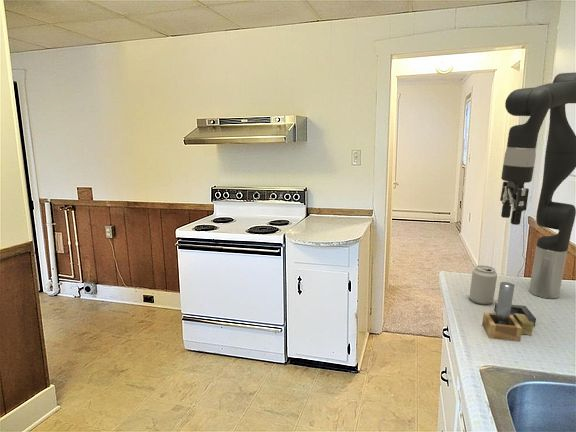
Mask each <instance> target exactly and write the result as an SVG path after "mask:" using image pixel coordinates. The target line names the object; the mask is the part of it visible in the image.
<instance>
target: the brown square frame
mask: <svg viewBox="0 0 576 432" xmlns="http://www.w3.org/2000/svg"><path fill="white" fill-rule="evenodd" d="M495 314H496V312H485V311H484V312H483V315H482V321H481V325H482V327H483V329H484V330H485V331H484V332H486V334H487V336H488V338H489V339H494V340H495V339H496V340H505V341H514V342H521V338H522V334H521V333H522V327H521V326H520V325H519V323H518V322H517V321H516V319H515V318H514V316H513V315H510V317H509V323H508V325H503V324H495V323H494V321H495Z"/></svg>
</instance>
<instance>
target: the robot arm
mask: <svg viewBox="0 0 576 432" xmlns="http://www.w3.org/2000/svg"><path fill="white" fill-rule="evenodd" d="M504 104H505V105H504V106H505V110H506V112H507V113H508V114H509V115H511V116H514V117H529V118H528V120H527V121H526V122H525V123H523V124H522V123H521V124H517V125H512V126H511V127H510V128H509V132H508V136H507V142H506V143H507V144H506V149H505V153H504V157H503V165H502V171H501V172H502V173H501V177H500V178H501V181H503V182H502V188H501V191H500V192H501V193H500V198H499V199H500V200H499V201H500V202H501V204H502V206H501V212H500V213H501V217H502V218H503V219H504V218H507V219H509V218H510V224H511V225H515V226H518V225H519V226H520V224H521V218H522V213H523V212H524V211H525V212H526V211H527V207H528V206H527V205H528V198H529V193H530V189H529V188H525V184H527V183H531V182H532V180H533V175H534V174H533V173H534V168H535V163H536V156H537V155H536V150H537V149H536V148H537V143H538V137H539V133H540V130H541V127H542V125H543V122H544V120H545V118H546V116H547V114H548V112H549V124H548V125H549V126H548V134H547V141H546V145H545V146H546V148H545V154H544V163H543V164H544V165H543V174H542V184H541V187H540V188H541V189H540V195H539V199H538V205H537V210H536V214H535V215H536V216H535V218H536V219H535V221H536V225H538V226H539V227H542V228H547V229H552V230H555V231H556V230H558V232H557V234H554V235H545V236H541V237H538V239H537V240H536V245H535V251H534V258H533V265H532V268H531V269H532V270H531V275H530V282H529V289H528V292H529V293H531V294H532V295H534V296H536V297H540V298H544V299H552V300H553V299H558V298H559V296H560V291H561V287H562V283H563V282H562V280H563V277H564V276H563V275H564V272H565V271H564V270H565V266H566V261H567V255H568V250H569V245H570V241H571V236H572V231H573V226H574V224H575V220H576V206H575V205H573V204H570V203H564V202H557V201H552V200H553V196H554V194H555V191H556V190H557V189H559V187H560V185H561V184H562V183H563V182H564V181H565V180H566V179H567V178H568V177H569V176H570V175H571V174H572V173H573V171H574V170H576V133H575V132H574V130H573V129H572V127H571V125H570V123H569V120H568V118H567V114H566V104H567V105H568V104H576V72H562V73H561V72H560V73H558V74H556V75H555V77H554V78H553V81H552V82H549V83H545V84H542V85H538V86H535V87H524V88H517V89H514V90H513V91H511V92H510V93H509V94H508V96H507V97H506V100H505V103H504Z"/></svg>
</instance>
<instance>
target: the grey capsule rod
mask: <svg viewBox="0 0 576 432" xmlns="http://www.w3.org/2000/svg"><path fill="white" fill-rule="evenodd" d="M498 289H499V290H498V296H497V300H496V303H497V308H496V312H495V321H494V323H495V324H503V325H508V323H509V317H510V311H511V305H513V300H514V299H513V298H514V292H515V284H513V283H512V282H508V281H501V282H500V283H499V288H498Z"/></svg>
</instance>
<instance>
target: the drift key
mask: <svg viewBox="0 0 576 432" xmlns="http://www.w3.org/2000/svg"><path fill="white" fill-rule="evenodd" d="M514 318H515V319H516V321H517V322H518V323H519V325H520V326H521V327H522V333H521V335H530V336H532V335H533V329H534V326H533V325H534V323H533V322H532V321H529V320H528V319H527V317H526V316H525V315H524V314H517V313H515V314H514Z"/></svg>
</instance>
